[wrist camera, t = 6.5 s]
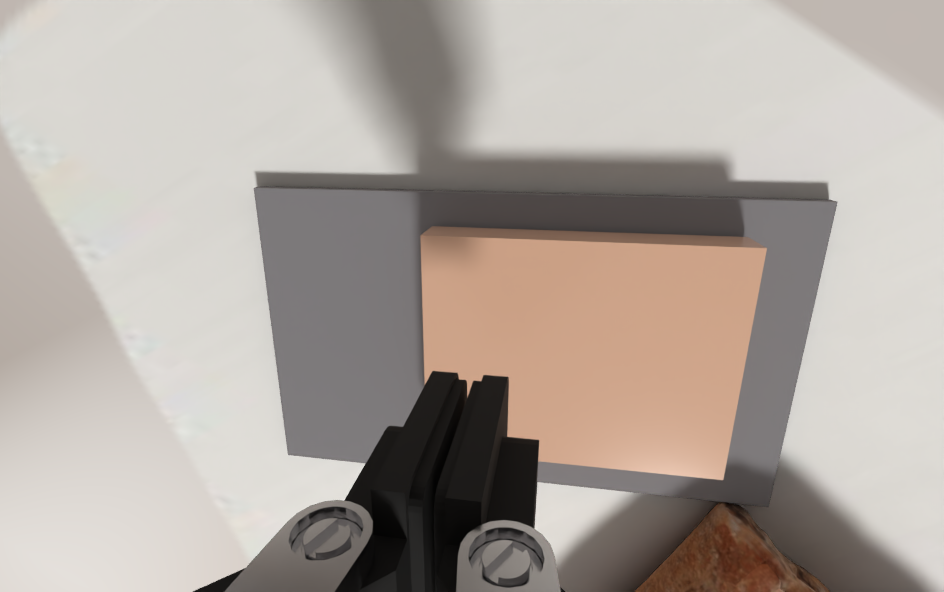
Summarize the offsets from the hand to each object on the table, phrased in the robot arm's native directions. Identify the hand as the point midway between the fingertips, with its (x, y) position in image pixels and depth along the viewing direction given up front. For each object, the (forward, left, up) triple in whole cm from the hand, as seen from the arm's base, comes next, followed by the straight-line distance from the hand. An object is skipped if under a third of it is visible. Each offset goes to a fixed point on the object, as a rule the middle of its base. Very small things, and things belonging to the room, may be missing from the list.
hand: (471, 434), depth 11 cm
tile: (+2, 0, -5) cm, 5 cm away
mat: (0, 0, -6) cm, 6 cm away
